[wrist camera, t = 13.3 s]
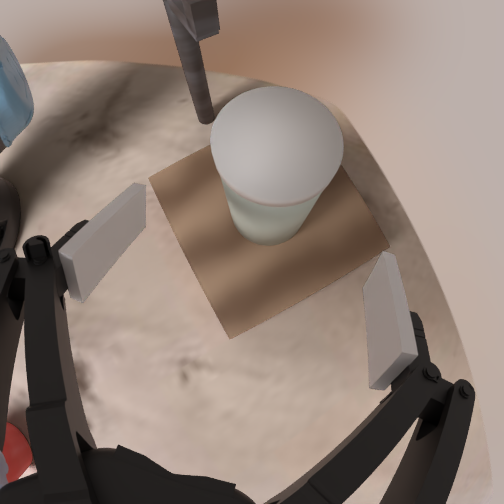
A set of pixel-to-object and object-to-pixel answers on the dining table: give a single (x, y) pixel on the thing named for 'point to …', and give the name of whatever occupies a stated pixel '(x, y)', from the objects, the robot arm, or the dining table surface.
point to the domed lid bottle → (274, 159)
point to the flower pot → (16, 453)
